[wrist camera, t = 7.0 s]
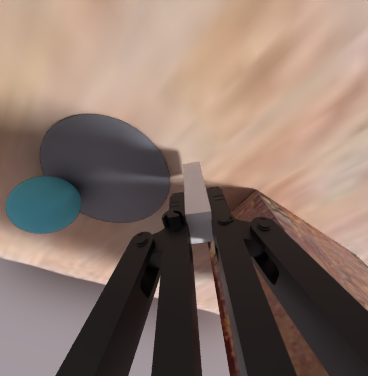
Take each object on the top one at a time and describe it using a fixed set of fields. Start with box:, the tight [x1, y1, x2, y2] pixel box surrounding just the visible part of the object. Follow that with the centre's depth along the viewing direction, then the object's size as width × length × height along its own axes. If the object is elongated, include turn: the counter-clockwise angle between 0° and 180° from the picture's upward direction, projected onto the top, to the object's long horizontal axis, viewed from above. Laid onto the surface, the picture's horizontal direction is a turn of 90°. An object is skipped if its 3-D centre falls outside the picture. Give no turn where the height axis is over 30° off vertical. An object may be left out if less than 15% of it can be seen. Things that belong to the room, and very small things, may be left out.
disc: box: [40, 114, 170, 223], centre depth 17 cm, size 13×13×1 cm
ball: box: [6, 176, 81, 234], centre depth 16 cm, size 6×6×6 cm
